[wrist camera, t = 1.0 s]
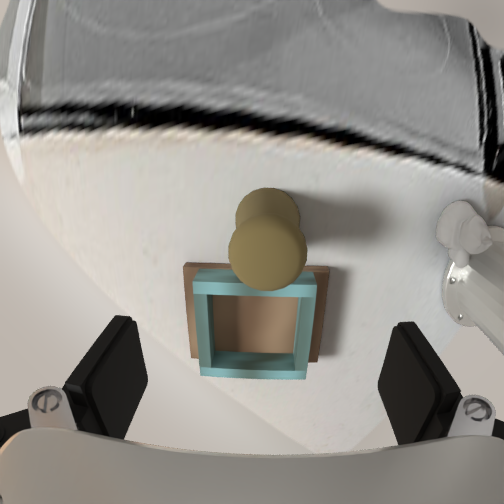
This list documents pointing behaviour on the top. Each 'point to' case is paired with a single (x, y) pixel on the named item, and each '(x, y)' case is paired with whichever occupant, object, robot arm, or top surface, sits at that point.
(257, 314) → the board
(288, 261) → the cork
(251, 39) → the top surface
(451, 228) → the rubber duck
